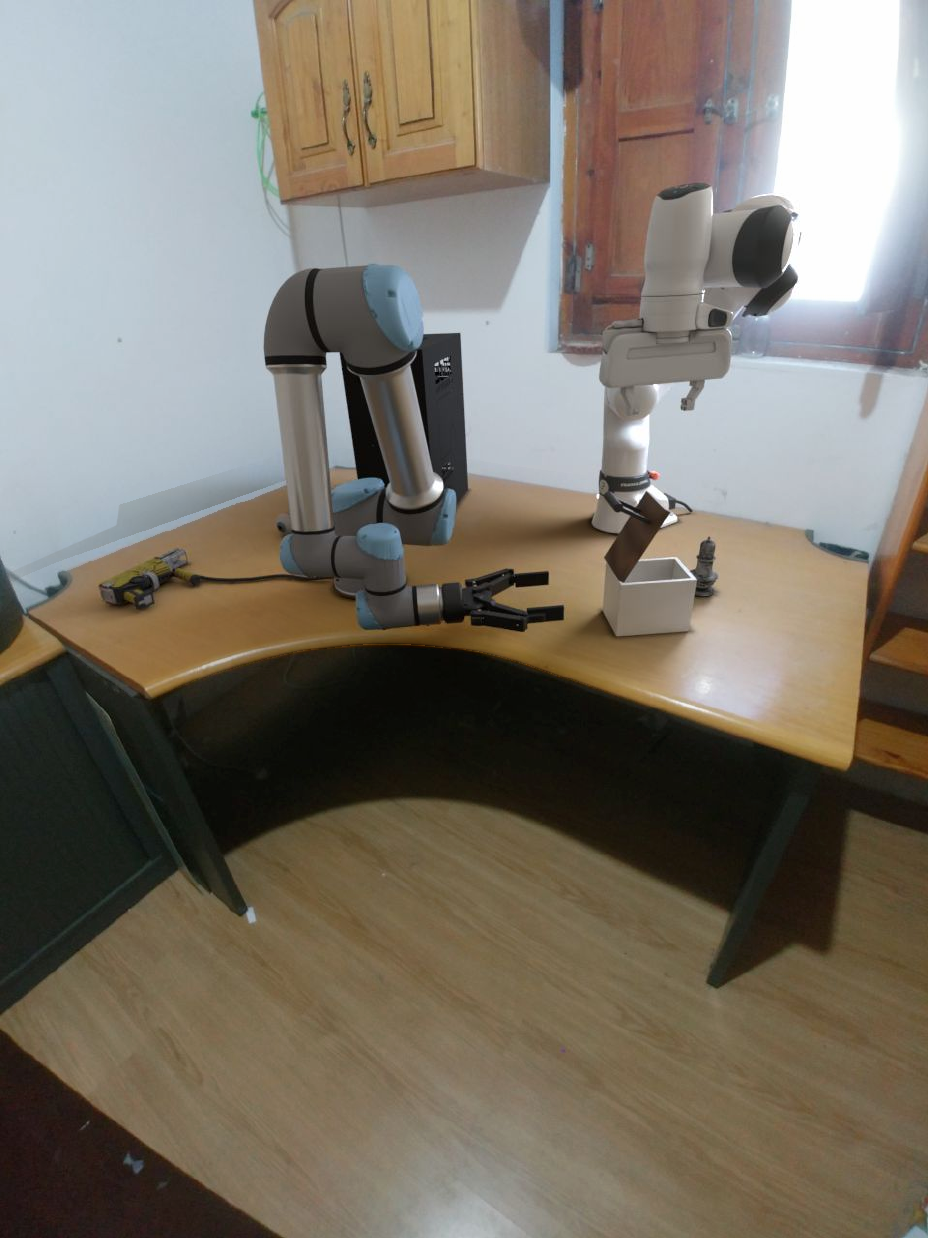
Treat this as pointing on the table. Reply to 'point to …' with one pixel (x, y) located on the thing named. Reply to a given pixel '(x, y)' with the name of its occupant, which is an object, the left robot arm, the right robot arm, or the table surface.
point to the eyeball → (284, 523)
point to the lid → (634, 532)
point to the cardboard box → (437, 411)
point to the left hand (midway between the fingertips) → (555, 594)
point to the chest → (650, 598)
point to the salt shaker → (705, 569)
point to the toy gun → (146, 580)
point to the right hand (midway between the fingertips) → (659, 412)
